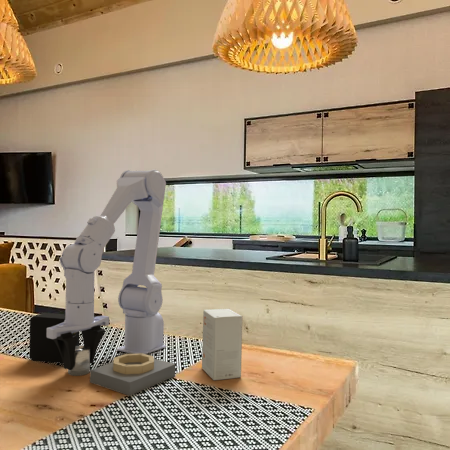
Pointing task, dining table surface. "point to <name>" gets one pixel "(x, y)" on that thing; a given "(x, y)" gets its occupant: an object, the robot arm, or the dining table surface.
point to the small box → (222, 343)
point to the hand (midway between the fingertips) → (79, 365)
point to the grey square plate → (132, 373)
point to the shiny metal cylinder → (81, 361)
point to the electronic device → (45, 338)
